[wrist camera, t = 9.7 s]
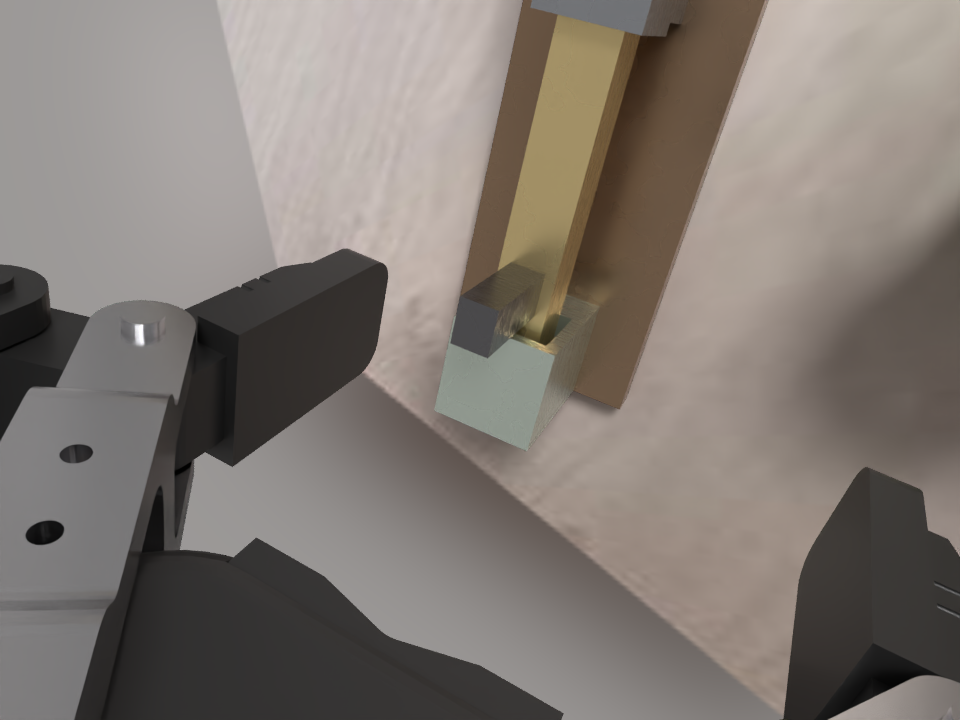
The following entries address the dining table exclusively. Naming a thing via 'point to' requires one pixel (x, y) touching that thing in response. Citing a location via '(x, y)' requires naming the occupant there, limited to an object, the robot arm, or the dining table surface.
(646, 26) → the multicoloured piece
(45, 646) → the robot arm
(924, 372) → the dining table surface
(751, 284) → the dining table surface
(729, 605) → the dining table surface
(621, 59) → the rod
